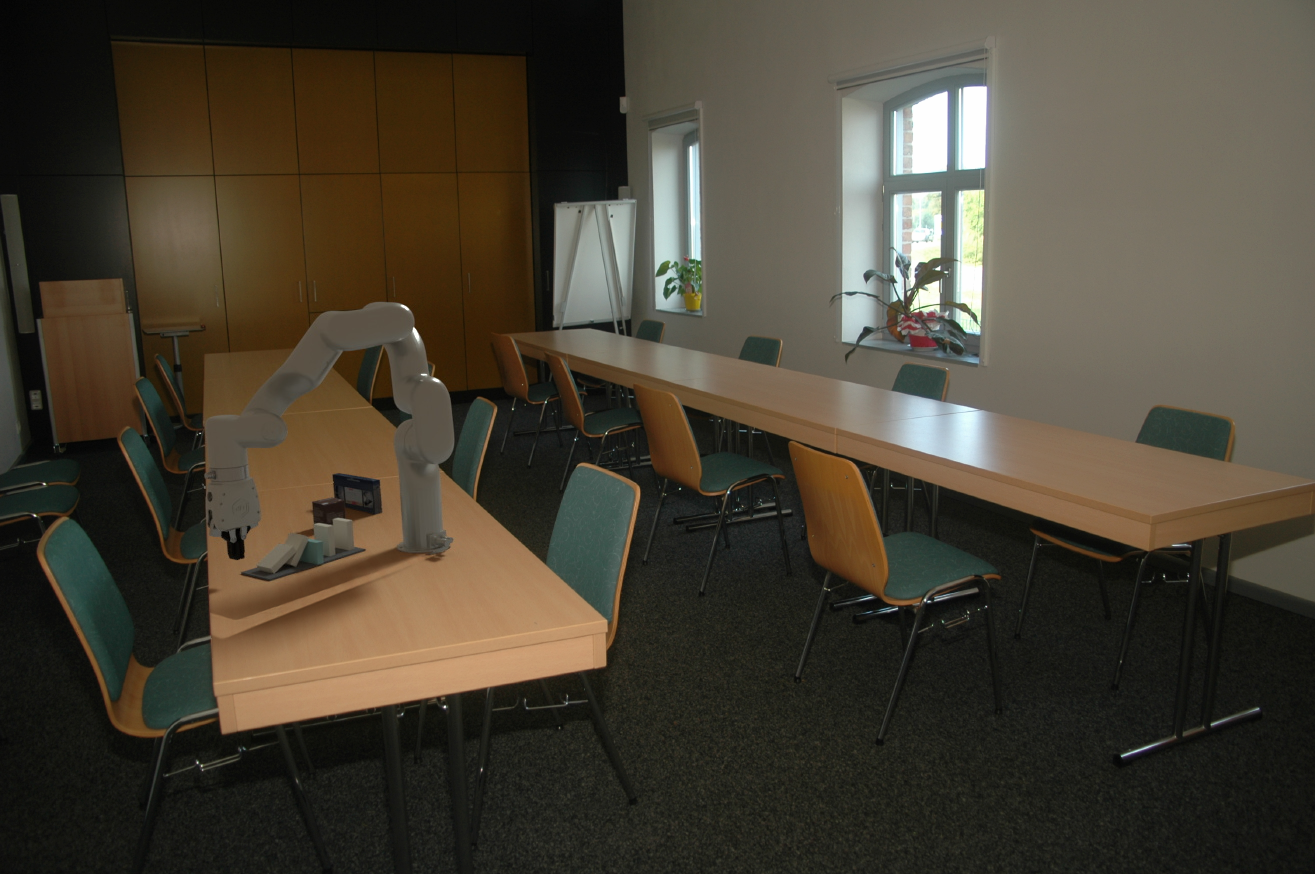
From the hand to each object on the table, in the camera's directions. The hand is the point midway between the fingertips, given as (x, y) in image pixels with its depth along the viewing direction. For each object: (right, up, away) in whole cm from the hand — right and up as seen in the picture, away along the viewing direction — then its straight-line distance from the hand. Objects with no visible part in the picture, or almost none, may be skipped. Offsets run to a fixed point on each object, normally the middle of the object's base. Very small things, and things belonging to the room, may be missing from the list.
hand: (236, 558), depth 197 cm
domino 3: (+12, -2, +19) cm, 23 cm away
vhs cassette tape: (+6, +5, +62) cm, 63 cm away
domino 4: (+15, -1, +24) cm, 28 cm away
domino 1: (+3, -3, +6) cm, 8 cm away
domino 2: (+6, -3, +10) cm, 13 cm away
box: (+4, +2, +45) cm, 45 cm away
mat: (+9, -3, +15) cm, 18 cm away
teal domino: (+8, 0, +15) cm, 17 cm away
